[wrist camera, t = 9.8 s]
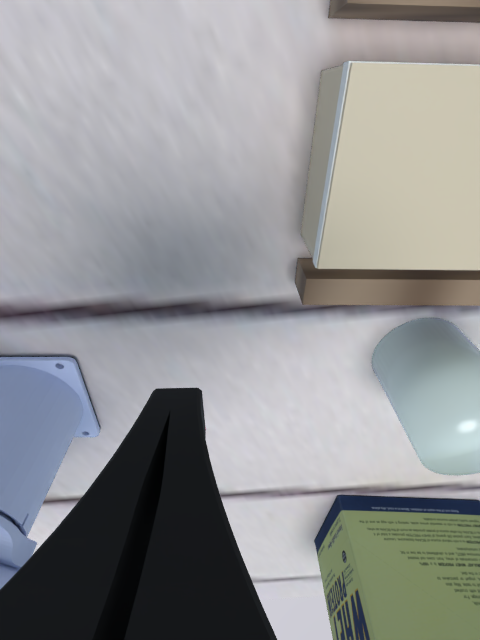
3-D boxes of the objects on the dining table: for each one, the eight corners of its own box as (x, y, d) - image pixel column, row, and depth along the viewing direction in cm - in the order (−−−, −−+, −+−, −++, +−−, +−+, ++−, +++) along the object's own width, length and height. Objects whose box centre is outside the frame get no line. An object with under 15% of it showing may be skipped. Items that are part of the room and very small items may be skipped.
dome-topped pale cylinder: (362, 385, 24) (404, 476, 18) (384, 317, 21) (443, 402, 15) (442, 385, 24) (508, 474, 19) (477, 317, 21) (570, 401, 15)
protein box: (334, 493, 33) (401, 750, 20) (481, 498, 34) (633, 743, 21) (311, 540, 39) (351, 762, 26) (437, 543, 40) (536, 756, 27)
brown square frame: (294, 282, 19) (302, 304, 17) (335, -38, 12) (357, -66, 10) (499, 283, 20) (530, 305, 18) (659, -27, 12) (746, -52, 10)
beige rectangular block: (298, 233, 18) (316, 269, 14) (318, 69, 14) (350, 60, 10) (480, 235, 18) (544, 271, 14) (551, 75, 14) (665, 69, 10)
